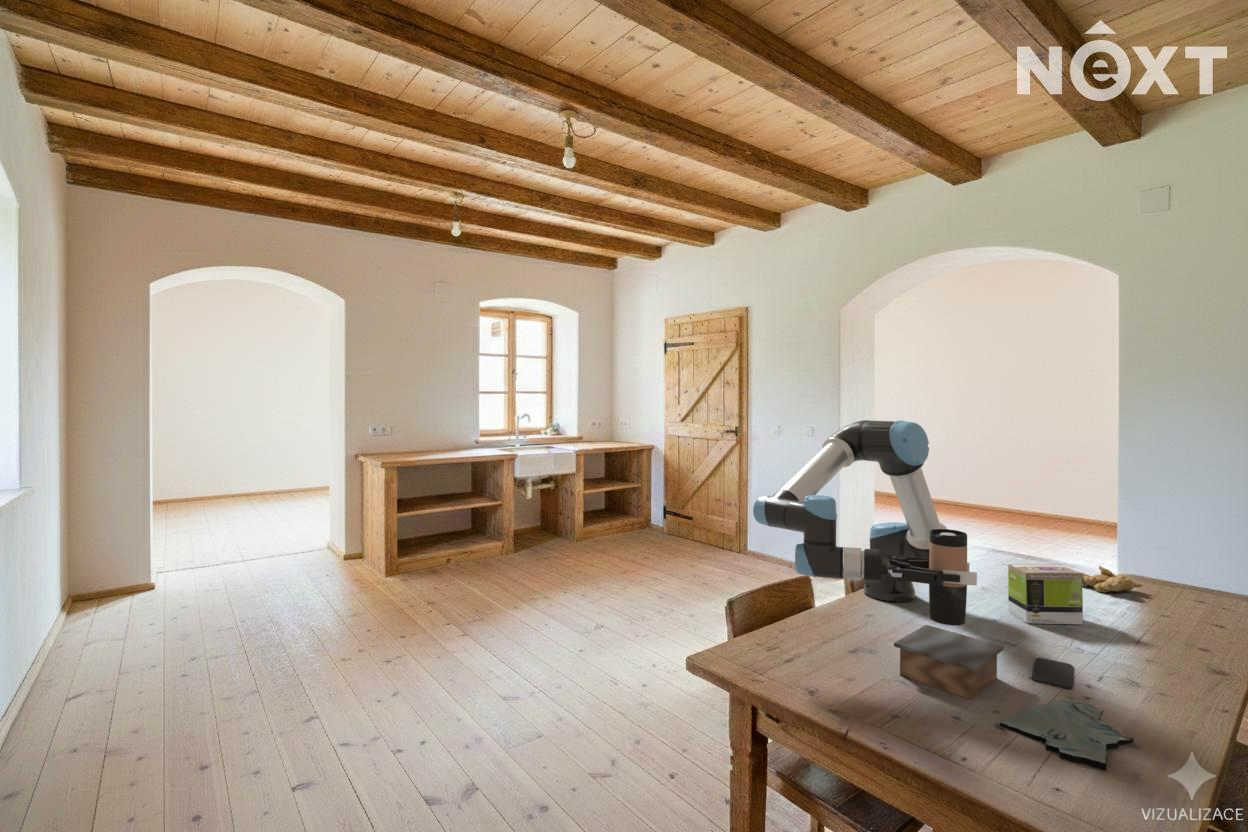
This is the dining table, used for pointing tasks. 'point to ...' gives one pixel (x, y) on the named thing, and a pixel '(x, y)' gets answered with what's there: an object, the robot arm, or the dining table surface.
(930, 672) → the podium
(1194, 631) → the dining table surface
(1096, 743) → the decorative slab
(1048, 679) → the phone
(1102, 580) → the ginger root
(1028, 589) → the tea box
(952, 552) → the travel mug
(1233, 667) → the dining table surface
